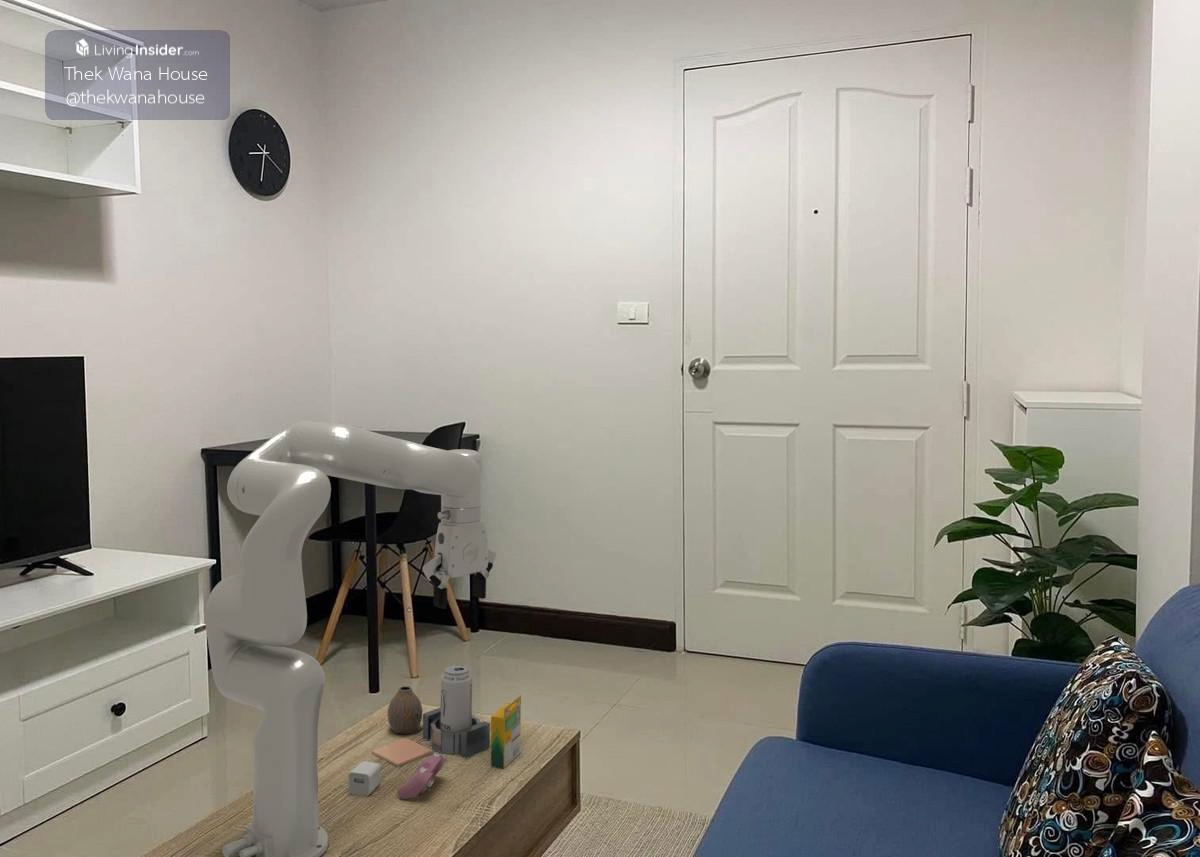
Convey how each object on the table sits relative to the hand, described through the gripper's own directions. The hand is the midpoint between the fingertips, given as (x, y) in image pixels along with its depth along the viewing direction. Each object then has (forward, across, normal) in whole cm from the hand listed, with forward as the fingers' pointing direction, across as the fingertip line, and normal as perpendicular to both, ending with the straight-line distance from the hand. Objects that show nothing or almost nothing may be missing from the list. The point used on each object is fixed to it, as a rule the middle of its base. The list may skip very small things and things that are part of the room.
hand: (460, 602), depth 183 cm
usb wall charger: (+29, -22, -2) cm, 36 cm away
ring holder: (+28, 0, 0) cm, 28 cm away
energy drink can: (+29, 0, 0) cm, 29 cm away
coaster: (+28, -10, +4) cm, 30 cm away
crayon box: (+29, +2, -12) cm, 31 cm away
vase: (+29, -3, +12) cm, 31 cm away
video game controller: (+29, -16, -10) cm, 34 cm away
